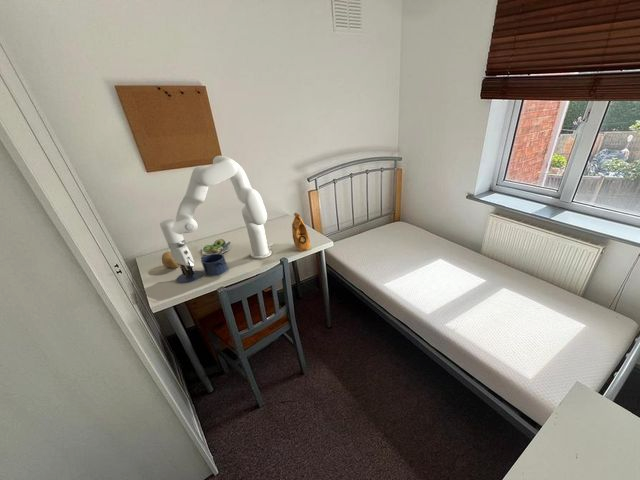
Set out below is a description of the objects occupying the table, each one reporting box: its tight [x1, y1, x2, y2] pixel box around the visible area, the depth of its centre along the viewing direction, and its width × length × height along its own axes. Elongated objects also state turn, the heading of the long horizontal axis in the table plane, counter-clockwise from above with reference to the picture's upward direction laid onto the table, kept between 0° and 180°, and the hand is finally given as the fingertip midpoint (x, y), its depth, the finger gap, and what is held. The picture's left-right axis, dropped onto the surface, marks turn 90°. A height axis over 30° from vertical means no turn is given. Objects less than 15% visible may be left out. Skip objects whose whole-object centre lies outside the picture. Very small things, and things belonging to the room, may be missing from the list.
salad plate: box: [201, 238, 232, 256], centre depth 186 cm, size 19×18×5 cm
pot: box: [200, 254, 228, 277], centre depth 162 cm, size 11×17×8 cm
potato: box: [161, 251, 179, 269], centre depth 168 cm, size 10×14×8 cm
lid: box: [176, 265, 203, 284], centre depth 157 cm, size 12×12×7 cm
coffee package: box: [291, 212, 311, 252], centre depth 184 cm, size 10×12×22 cm
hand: (188, 274), depth 158 cm, fingers closed on lid, 3 cm apart
